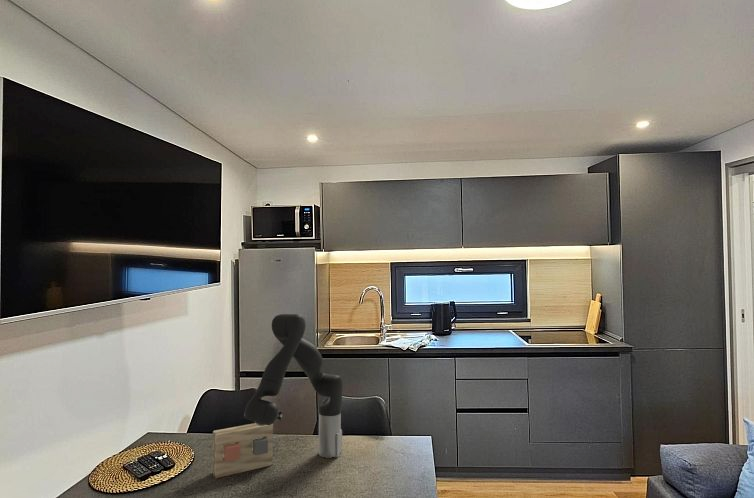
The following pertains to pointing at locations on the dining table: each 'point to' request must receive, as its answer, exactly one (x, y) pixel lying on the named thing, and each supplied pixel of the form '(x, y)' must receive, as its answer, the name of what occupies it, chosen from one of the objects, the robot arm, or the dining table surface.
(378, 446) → the dining table surface
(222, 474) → the key panel
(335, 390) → the robot arm
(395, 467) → the dining table surface
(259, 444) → the graphite key
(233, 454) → the brick red key
